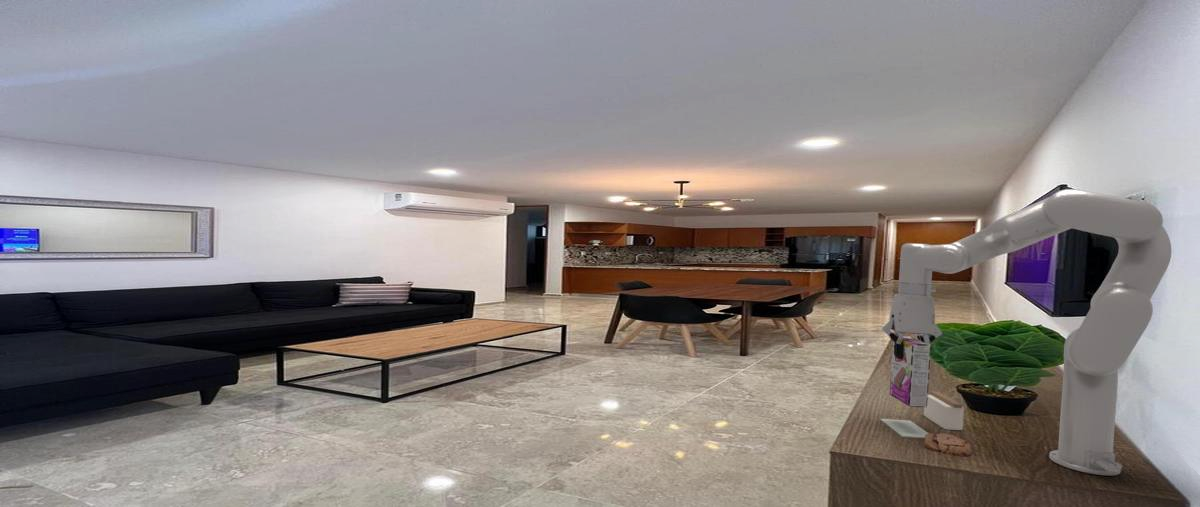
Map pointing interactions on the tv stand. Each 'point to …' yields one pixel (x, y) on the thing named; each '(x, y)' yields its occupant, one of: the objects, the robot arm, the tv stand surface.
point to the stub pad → (905, 428)
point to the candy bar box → (911, 373)
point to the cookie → (947, 444)
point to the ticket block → (944, 411)
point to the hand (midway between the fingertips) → (910, 358)
